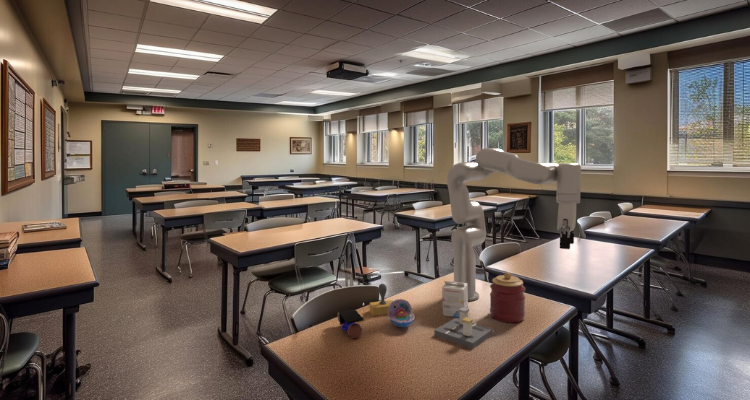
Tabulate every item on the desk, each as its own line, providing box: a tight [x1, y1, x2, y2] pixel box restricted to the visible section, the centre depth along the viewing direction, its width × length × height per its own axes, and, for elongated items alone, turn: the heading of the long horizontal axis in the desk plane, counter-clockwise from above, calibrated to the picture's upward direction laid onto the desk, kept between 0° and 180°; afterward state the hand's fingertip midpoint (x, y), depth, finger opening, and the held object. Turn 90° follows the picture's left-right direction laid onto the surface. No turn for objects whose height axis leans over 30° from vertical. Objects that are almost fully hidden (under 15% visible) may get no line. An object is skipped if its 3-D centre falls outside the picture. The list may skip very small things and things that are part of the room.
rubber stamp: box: [369, 283, 394, 317], centre depth 157 cm, size 10×6×12 cm, turn 104°
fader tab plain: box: [459, 307, 470, 324], centre depth 139 cm, size 3×3×5 cm
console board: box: [434, 317, 494, 350], centre depth 135 cm, size 15×14×2 cm
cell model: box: [387, 298, 416, 328], centre depth 144 cm, size 10×12×10 cm
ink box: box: [441, 280, 469, 319], centre depth 154 cm, size 9×8×13 cm
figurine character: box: [336, 308, 365, 339], centre depth 140 cm, size 7×8×15 cm
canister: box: [489, 271, 526, 324], centre depth 150 cm, size 13×13×18 cm
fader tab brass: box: [462, 316, 474, 336], centre depth 130 cm, size 3×3×5 cm
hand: (566, 246), depth 138 cm, fingers open, 9 cm apart
